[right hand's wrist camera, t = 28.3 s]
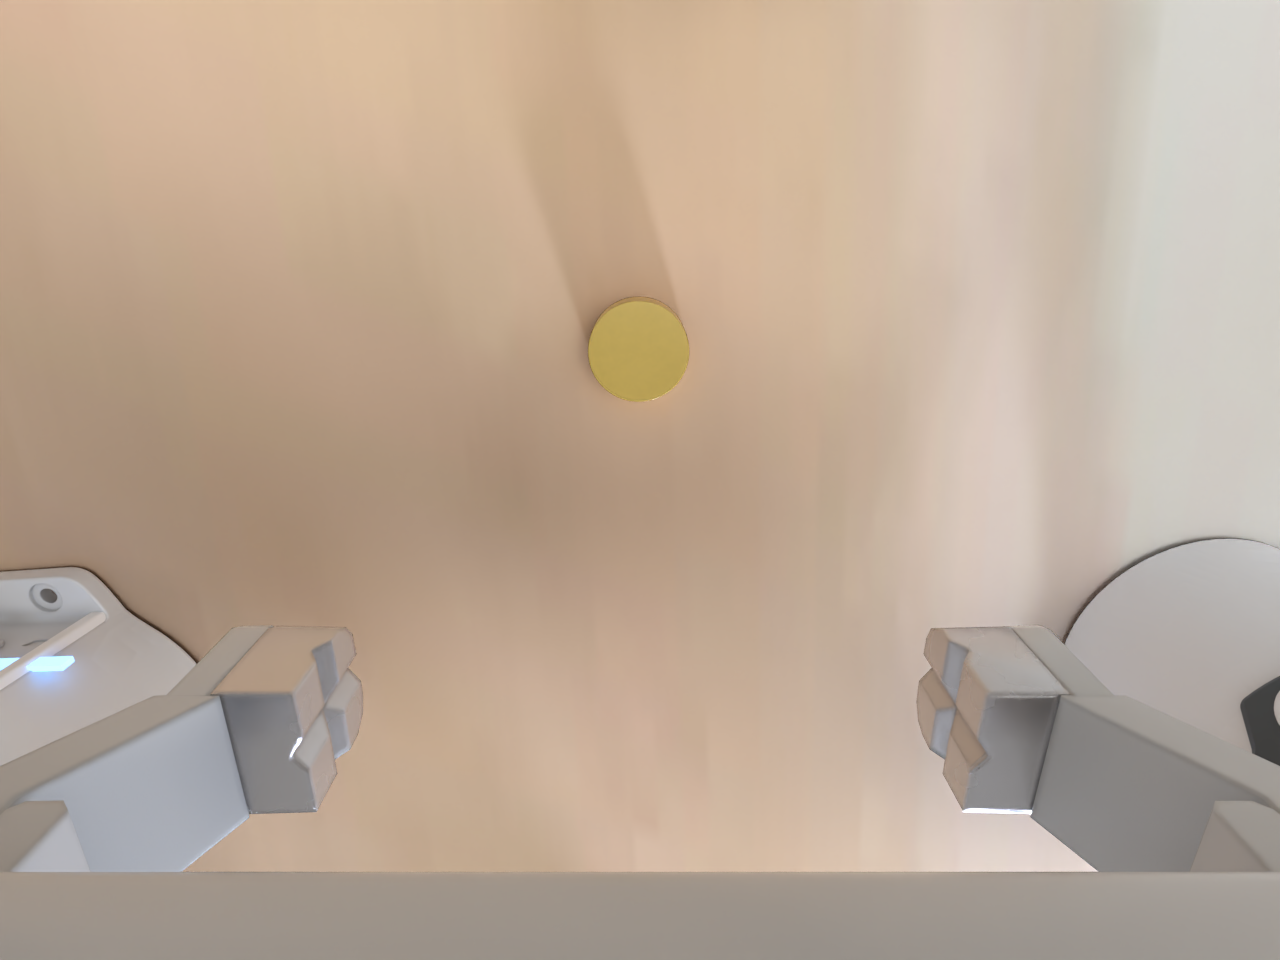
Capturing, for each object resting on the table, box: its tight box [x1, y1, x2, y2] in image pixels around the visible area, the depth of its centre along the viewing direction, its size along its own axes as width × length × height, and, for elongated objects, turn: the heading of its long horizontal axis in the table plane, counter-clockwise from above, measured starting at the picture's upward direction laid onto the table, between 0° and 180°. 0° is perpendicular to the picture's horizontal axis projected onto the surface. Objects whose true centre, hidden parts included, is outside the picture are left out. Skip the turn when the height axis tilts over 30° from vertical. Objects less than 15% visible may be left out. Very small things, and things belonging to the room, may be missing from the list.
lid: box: [588, 297, 689, 402], centre depth 34 cm, size 5×5×2 cm
